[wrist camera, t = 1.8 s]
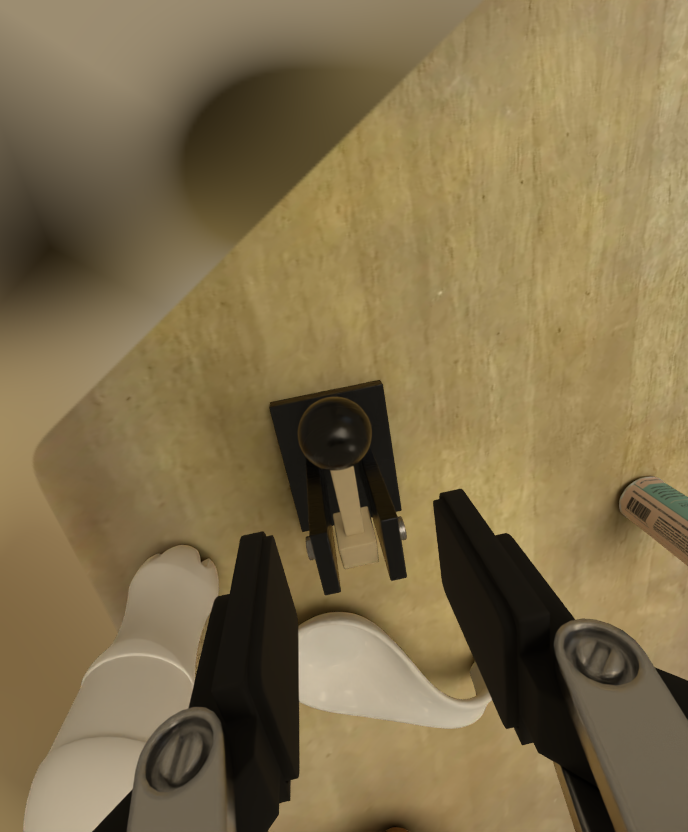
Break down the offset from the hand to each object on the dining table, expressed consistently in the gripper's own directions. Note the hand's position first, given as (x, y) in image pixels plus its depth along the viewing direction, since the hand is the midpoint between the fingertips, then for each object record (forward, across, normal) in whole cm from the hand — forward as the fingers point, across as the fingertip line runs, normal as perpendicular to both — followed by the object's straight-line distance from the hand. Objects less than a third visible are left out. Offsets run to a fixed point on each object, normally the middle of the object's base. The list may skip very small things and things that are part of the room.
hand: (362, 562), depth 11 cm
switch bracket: (+23, 0, +9) cm, 25 cm away
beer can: (+24, -28, +20) cm, 42 cm away
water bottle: (+24, +16, +17) cm, 33 cm away
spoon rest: (+24, -1, +32) cm, 40 cm away
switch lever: (+12, 0, +4) cm, 12 cm away
